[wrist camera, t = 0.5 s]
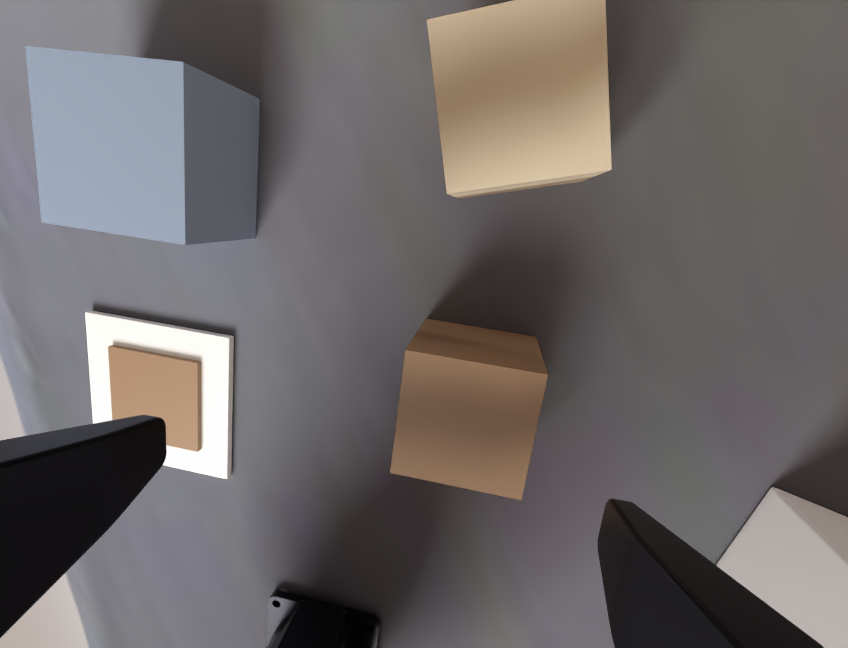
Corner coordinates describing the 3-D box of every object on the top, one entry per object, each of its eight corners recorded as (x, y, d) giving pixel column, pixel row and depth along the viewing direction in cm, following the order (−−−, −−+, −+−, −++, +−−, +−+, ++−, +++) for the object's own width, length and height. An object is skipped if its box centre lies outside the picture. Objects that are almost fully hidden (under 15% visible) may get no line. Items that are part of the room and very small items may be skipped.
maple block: (581, 181, 18) (611, 170, 13) (459, 198, 19) (446, 193, 14) (574, 46, 17) (604, -21, 12) (445, 71, 18) (426, 19, 13)
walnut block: (515, 435, 21) (521, 500, 16) (413, 415, 22) (390, 472, 17) (535, 336, 20) (548, 374, 15) (426, 317, 20) (405, 349, 16)
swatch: (231, 475, 24) (223, 482, 24) (101, 446, 25) (90, 452, 24) (233, 336, 22) (225, 339, 21) (92, 310, 23) (80, 313, 22)
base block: (257, 237, 21) (185, 244, 16) (142, 220, 22) (41, 222, 17) (261, 99, 19) (183, 61, 15) (138, 86, 20) (25, 46, 15)
